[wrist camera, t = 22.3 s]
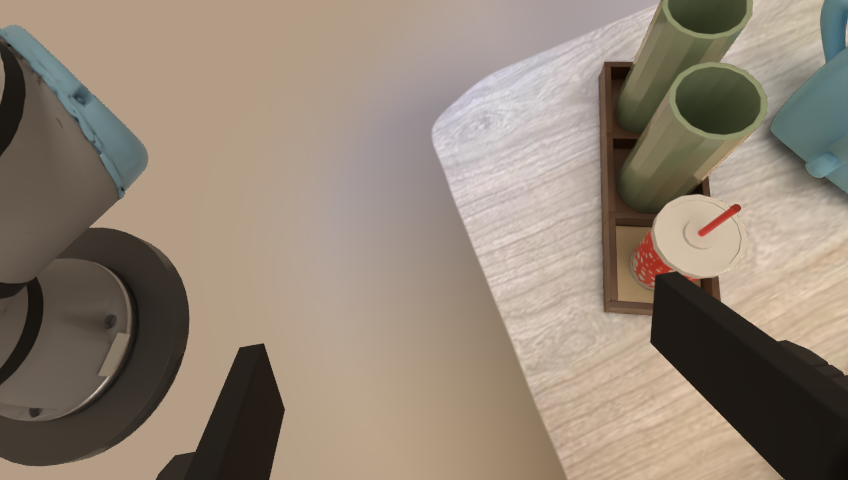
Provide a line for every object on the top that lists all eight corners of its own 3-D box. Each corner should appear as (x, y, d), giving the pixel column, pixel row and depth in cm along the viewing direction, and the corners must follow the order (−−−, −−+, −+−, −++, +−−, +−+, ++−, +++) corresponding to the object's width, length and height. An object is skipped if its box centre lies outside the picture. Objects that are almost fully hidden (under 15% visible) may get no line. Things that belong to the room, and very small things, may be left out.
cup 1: (601, 122, 47) (647, 17, 34) (631, 79, 48) (686, -40, 35) (658, 150, 45) (729, 51, 32) (687, 104, 46) (767, -10, 33)
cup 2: (603, 195, 44) (653, 113, 31) (634, 148, 46) (695, 49, 32) (663, 227, 43) (742, 154, 30) (693, 177, 44) (782, 85, 31)
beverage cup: (608, 279, 41) (665, 227, 28) (636, 222, 43) (705, 146, 29) (676, 313, 40) (772, 275, 26) (704, 253, 41) (808, 187, 28)
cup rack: (708, 319, 40) (722, 314, 38) (603, 312, 41) (611, 307, 39) (686, 77, 47) (697, 61, 45) (598, 77, 48) (604, 61, 46)
